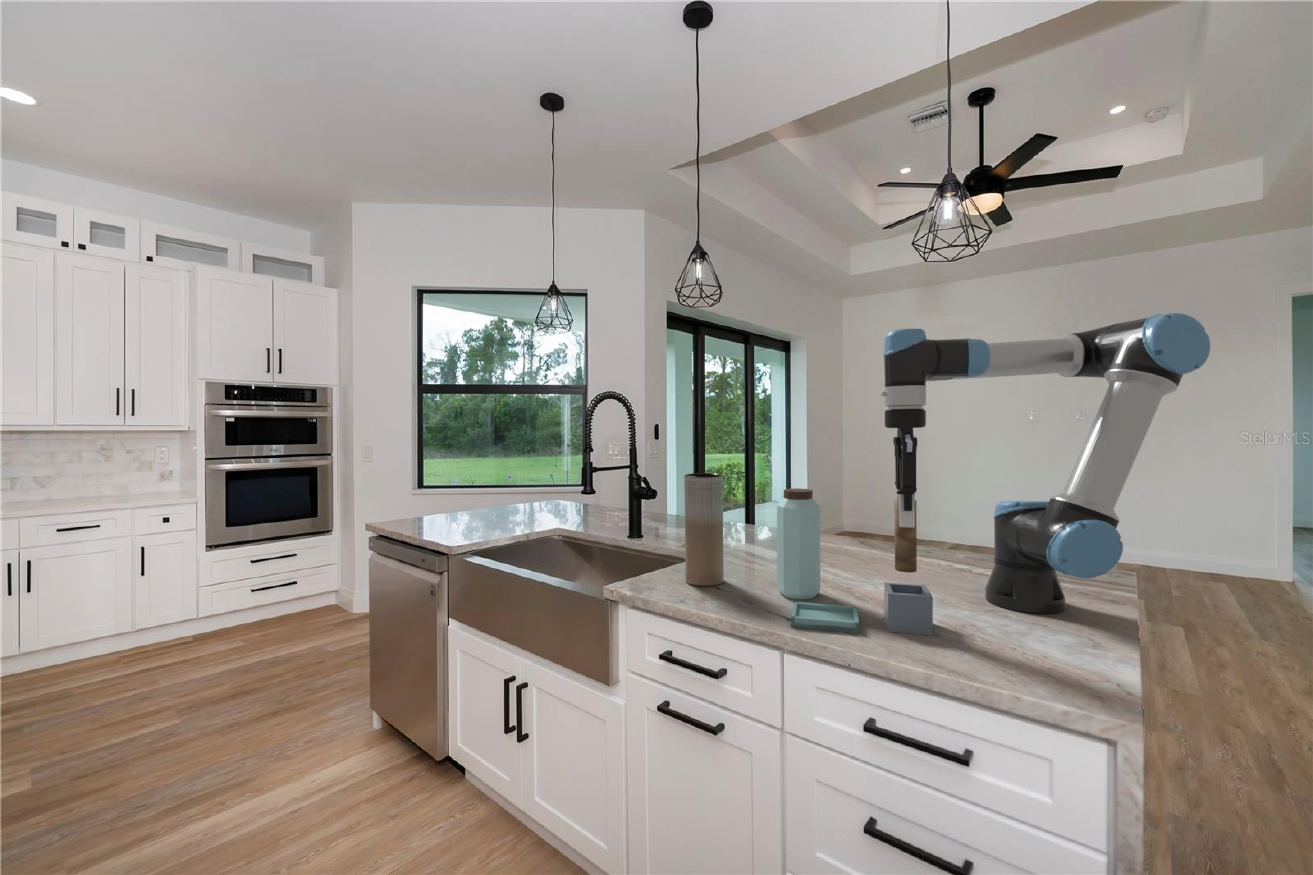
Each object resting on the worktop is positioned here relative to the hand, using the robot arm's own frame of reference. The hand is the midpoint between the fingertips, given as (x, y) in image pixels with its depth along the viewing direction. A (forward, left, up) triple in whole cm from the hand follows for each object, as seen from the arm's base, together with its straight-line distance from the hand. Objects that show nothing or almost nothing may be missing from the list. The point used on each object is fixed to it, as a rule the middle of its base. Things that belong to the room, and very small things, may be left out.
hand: (905, 524), depth 114 cm
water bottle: (+22, -16, -21) cm, 34 cm away
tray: (+16, +2, -21) cm, 26 cm away
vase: (+46, -21, -21) cm, 54 cm away
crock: (0, 0, -21) cm, 21 cm away
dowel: (0, 0, -9) cm, 9 cm away
